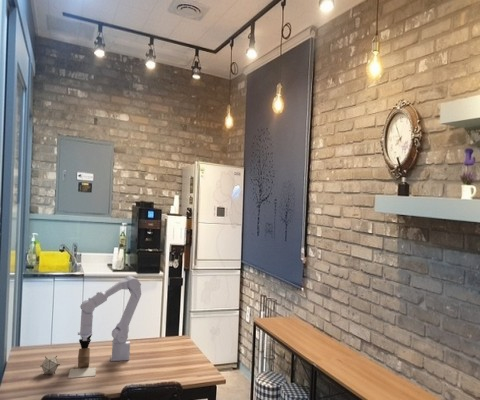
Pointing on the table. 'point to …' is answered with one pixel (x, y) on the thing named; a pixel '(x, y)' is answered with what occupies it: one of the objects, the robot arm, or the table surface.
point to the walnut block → (83, 358)
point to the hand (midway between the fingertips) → (85, 350)
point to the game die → (50, 365)
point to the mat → (82, 372)
